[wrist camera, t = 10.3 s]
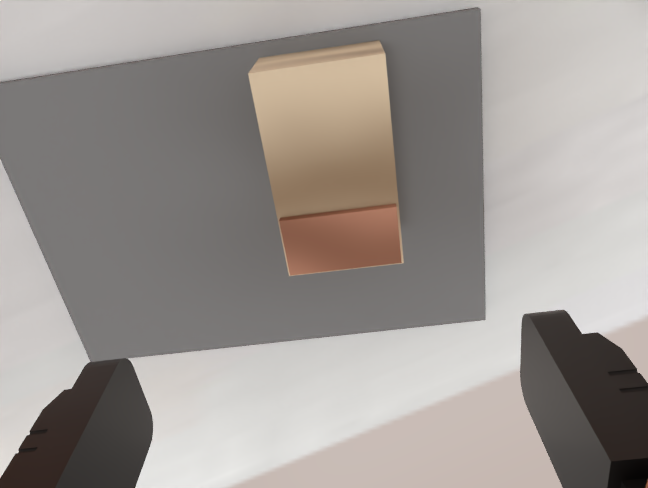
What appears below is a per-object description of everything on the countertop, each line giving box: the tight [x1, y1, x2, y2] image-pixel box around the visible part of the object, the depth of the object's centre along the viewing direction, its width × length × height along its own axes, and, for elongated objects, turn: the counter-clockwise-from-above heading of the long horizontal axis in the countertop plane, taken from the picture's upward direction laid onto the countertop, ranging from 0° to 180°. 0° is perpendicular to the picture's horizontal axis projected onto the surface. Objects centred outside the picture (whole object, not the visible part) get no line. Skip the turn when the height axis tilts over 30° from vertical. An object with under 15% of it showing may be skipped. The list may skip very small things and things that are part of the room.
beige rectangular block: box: [248, 40, 404, 276], centre depth 21 cm, size 8×5×3 cm, turn 8°
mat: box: [0, 8, 485, 362], centre depth 24 cm, size 20×14×1 cm
